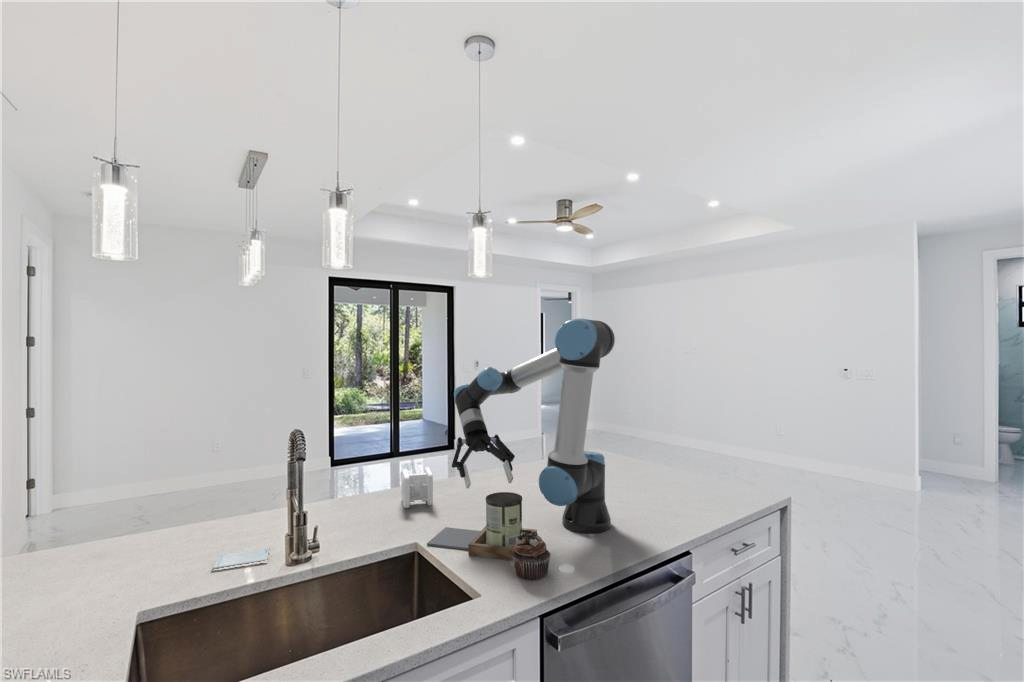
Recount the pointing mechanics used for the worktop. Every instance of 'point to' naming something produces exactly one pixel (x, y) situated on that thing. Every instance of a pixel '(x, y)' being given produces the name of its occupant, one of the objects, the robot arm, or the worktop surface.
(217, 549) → the worktop surface
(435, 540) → the rubber pad
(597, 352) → the robot arm
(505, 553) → the walnut collar
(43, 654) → the worktop surface
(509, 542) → the coffee can
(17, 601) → the worktop surface
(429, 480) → the cable organizer
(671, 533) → the worktop surface
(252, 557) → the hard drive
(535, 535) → the cupcake
